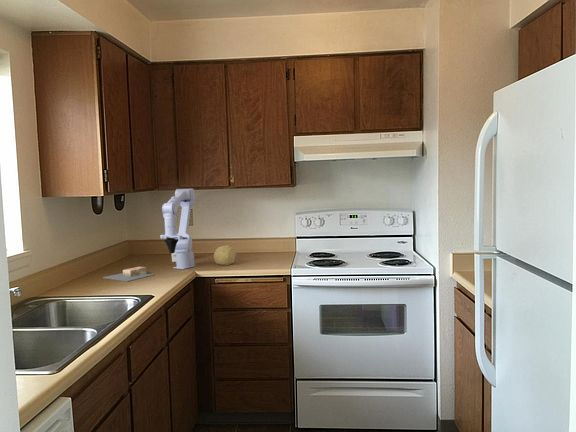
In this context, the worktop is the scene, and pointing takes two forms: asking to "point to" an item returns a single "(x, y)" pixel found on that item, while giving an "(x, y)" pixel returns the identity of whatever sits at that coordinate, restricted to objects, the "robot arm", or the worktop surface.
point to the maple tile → (134, 271)
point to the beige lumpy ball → (225, 255)
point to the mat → (126, 278)
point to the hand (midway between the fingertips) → (172, 253)
